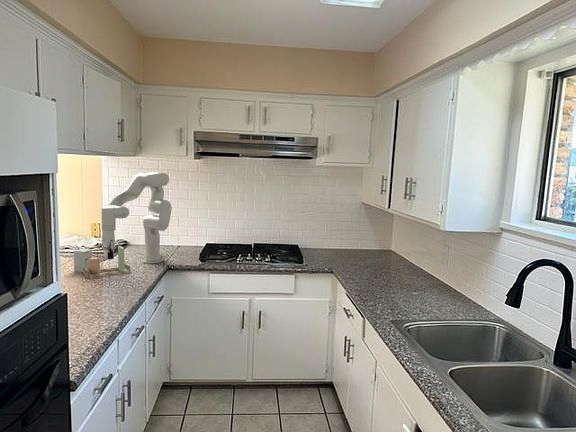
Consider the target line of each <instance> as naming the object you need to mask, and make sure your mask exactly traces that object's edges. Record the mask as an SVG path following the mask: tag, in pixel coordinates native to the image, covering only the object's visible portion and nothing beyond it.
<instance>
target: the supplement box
mask: <svg viewBox="0 0 576 432" xmlns="http://www.w3.org/2000/svg"><path fill="white" fill-rule="evenodd" d="M91 257H93V249H92V248H91V249H89V248H80V249H76V250H73V272H79V273H83V267H85V268H87V269H88V258H91Z"/></svg>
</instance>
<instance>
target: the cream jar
mask: <svg viewBox="0 0 576 432" xmlns="http://www.w3.org/2000/svg"><path fill="white" fill-rule="evenodd" d="M109 250H110V248H109ZM103 259H104V260H107V261H109V260H114V259H115V257H114V258H113V259H108V247H107V248H106V247H104V246H103Z"/></svg>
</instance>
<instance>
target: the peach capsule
mask: <svg viewBox="0 0 576 432" xmlns="http://www.w3.org/2000/svg"><path fill="white" fill-rule="evenodd" d="M100 258H101V257H99V256H92V257H91V258H88V270H89V271H90V275H93V274H100V273H101V272H100V269H101V259H100Z"/></svg>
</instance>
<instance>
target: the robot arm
mask: <svg viewBox="0 0 576 432" xmlns="http://www.w3.org/2000/svg"><path fill="white" fill-rule="evenodd" d="M169 181H170V177H169V175H168V174H167V173H166V172H155V171H154V172H153V171H151V172H147V173H138V174H136V175H135V176H134V177H133V179H132V181H130V184H129V185H128V186H127V188H126V189H125V190H123V191H122V192H121V193H119V194H117V195H116V196H114V197H113V198H112V199H111V201H110V202H109V204H107V206H103V207H102V208H101V232H102V233H101V245H102V247H103V248H104V247H106V248H107V247H108V259H111V260H114V259H115V246H116V236H115V235H116V234H115V231H116V225H117V224H116V223H117V220H116V219H123V220H124V219H126V218H127V217H128V216H129V215H130V210H129V208H128V207H127V206H123V205H124V204H127V203H128V202H132V201H134V200H137V199H138V198H139V197H140V195H141V193H142V192H143V190H144V189H145V188H150V197H149V201H148V211H149V212H150V213H152V214H148V215H145V216H144V218H143V219H142V224H143V229H144V255H145V256H144V259H142V263H143V264H158V263H159V264H160V263H162V262H163V258H164V259H165V258H168V256H167V254H161V249H160V248H161V236H160V235H161V234H160V232H161V231H163V232H164V231H166V230H168V228H169V226H170V220H171V217H172V216H171V215H172V204H171V202H170V201H169V200H166V199H164V197H165V190H164V187H165V186H167V185H168V184H169ZM157 214H158V215H157ZM109 248H110V250H109ZM113 258H114V259H113Z"/></svg>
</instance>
